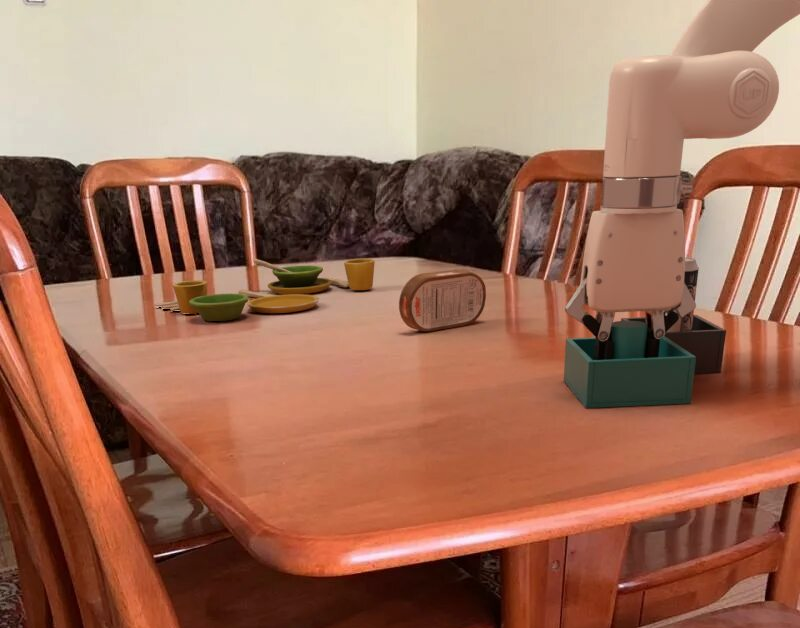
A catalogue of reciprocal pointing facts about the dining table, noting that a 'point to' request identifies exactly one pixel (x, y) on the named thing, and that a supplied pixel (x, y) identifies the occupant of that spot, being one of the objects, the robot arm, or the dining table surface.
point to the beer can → (691, 284)
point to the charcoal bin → (699, 343)
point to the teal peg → (628, 339)
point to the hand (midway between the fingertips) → (624, 372)
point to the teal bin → (629, 376)
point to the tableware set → (290, 282)
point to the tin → (442, 300)
